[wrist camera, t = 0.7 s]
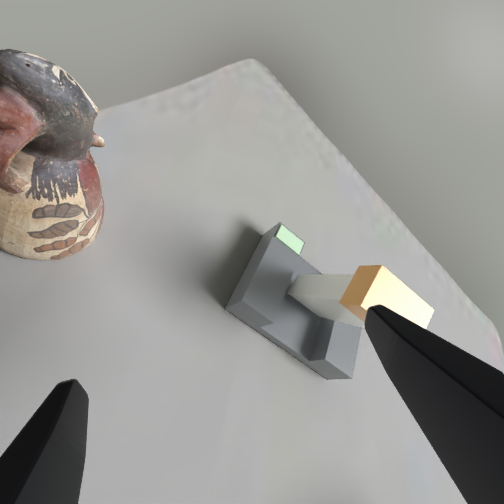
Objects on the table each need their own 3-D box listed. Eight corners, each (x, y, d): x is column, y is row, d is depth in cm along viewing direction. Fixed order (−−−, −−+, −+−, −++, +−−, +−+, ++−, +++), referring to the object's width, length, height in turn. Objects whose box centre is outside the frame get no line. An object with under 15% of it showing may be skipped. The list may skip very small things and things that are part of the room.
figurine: (122, 217, 23) (165, 99, 14) (46, 284, 19) (34, 181, 10) (41, 153, 22) (28, -25, 12) (-60, 211, 18) (-195, 7, 8)
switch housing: (327, 379, 27) (353, 378, 25) (224, 308, 25) (242, 299, 22) (345, 300, 33) (369, 293, 30) (262, 235, 30) (281, 221, 28)
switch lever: (320, 322, 28) (416, 350, 18) (281, 293, 26) (360, 305, 17) (334, 297, 28) (434, 310, 18) (297, 268, 27) (382, 265, 17)
